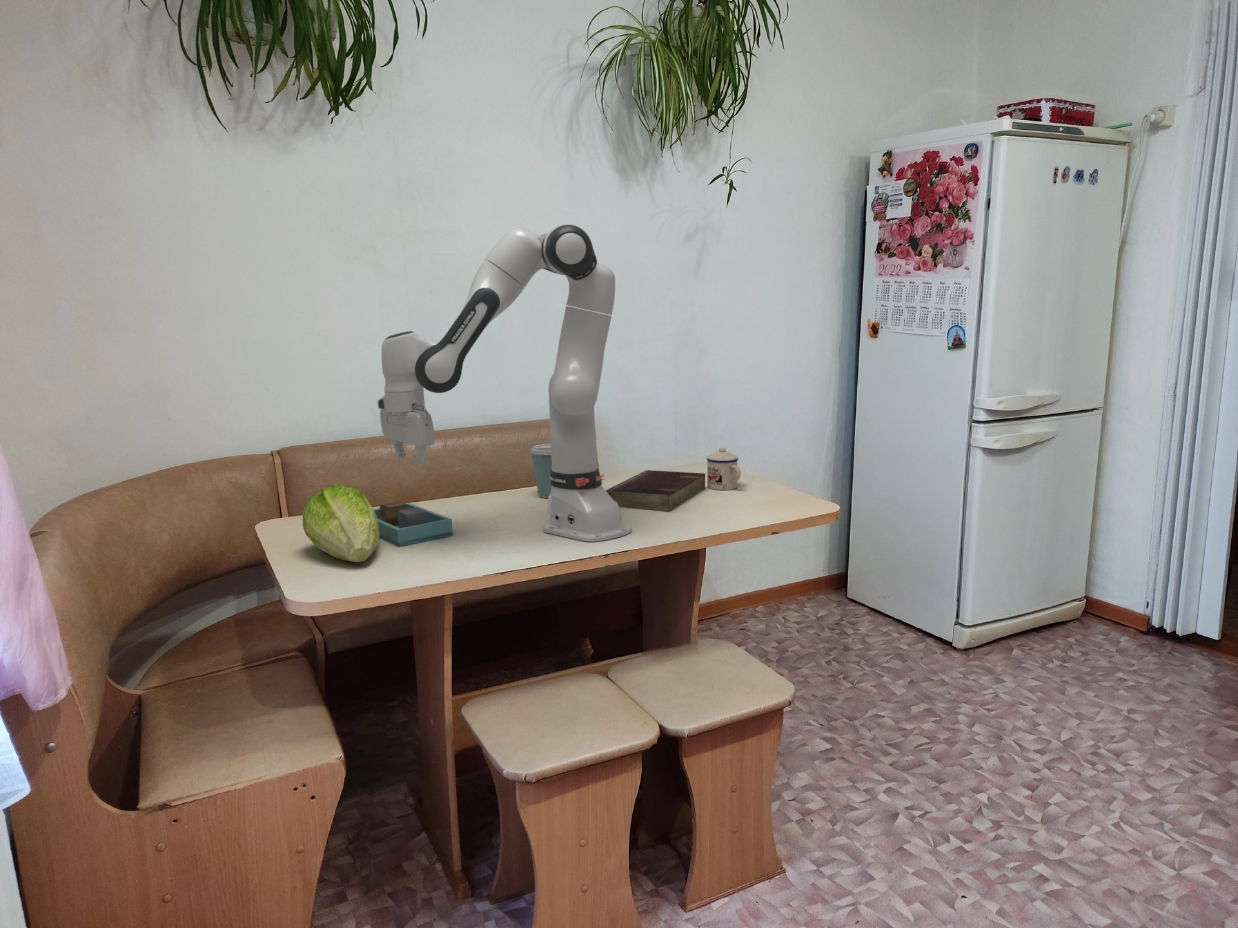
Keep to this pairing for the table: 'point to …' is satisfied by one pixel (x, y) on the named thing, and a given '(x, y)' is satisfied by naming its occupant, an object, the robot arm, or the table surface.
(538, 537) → the table surface
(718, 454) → the teacup with lid
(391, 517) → the walnut block
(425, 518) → the charcoal block
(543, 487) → the disposable coffee cup
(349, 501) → the lettuce
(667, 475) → the hardback book
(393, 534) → the teal tray
